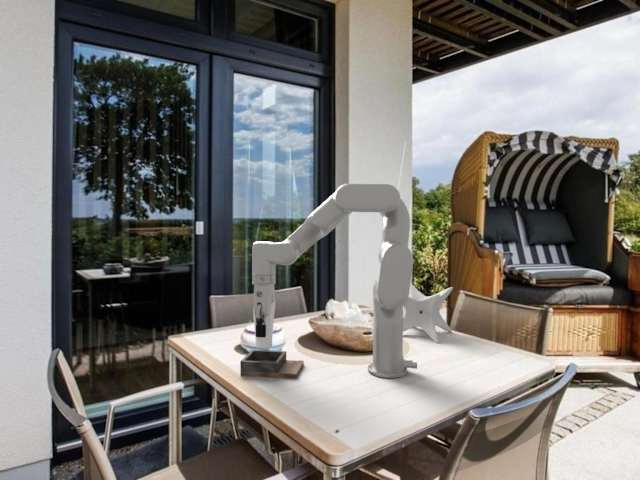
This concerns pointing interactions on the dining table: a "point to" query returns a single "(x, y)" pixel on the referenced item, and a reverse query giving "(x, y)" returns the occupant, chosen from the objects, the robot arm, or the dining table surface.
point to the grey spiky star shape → (425, 312)
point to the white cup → (269, 320)
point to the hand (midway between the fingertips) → (263, 333)
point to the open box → (270, 364)
